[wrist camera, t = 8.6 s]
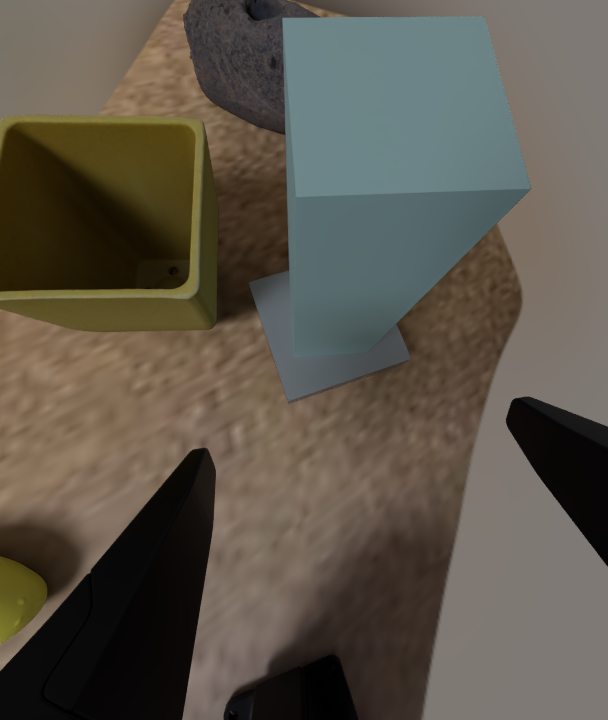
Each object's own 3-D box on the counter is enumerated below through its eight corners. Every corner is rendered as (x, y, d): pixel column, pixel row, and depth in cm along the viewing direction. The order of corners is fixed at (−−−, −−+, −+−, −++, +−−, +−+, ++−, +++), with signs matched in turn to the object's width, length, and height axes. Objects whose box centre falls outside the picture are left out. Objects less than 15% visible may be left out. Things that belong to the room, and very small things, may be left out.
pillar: (367, 352, 18) (531, 188, 6) (294, 357, 18) (296, 196, 5) (359, 285, 19) (484, 16, 7) (289, 288, 19) (282, 17, 6)
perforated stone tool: (396, 133, 25) (434, 23, 18) (376, 183, 24) (409, 85, 17) (229, 76, 25) (205, -52, 19) (202, 121, 24) (166, 4, 18)
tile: (400, 365, 20) (411, 358, 18) (288, 403, 20) (288, 401, 18) (357, 263, 22) (363, 247, 20) (252, 295, 21) (248, 282, 19)
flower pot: (239, 237, 22) (204, 113, 13) (239, 352, 20) (197, 295, 11) (117, 239, 22) (-2, 112, 13) (105, 356, 20) (-44, 300, 11)
